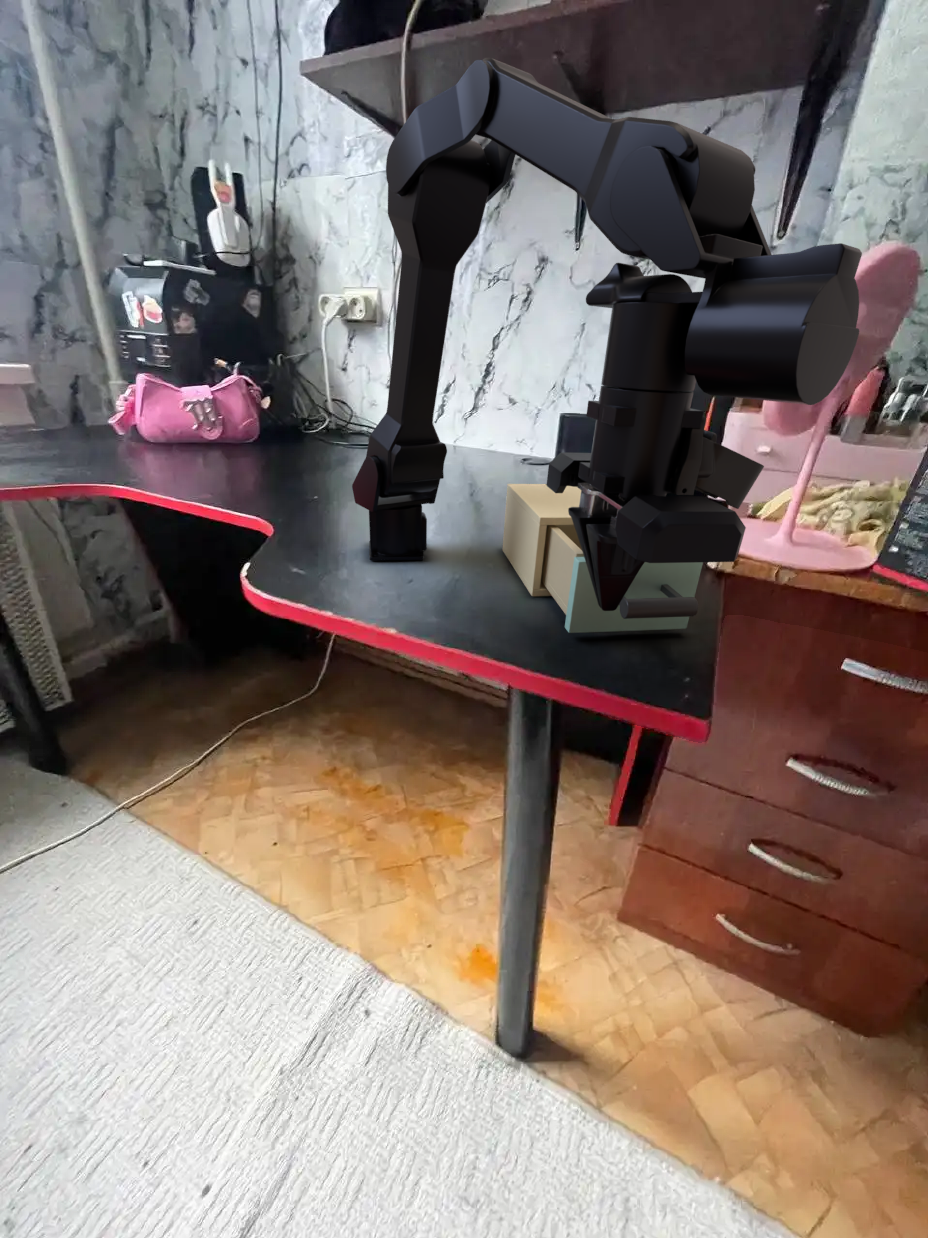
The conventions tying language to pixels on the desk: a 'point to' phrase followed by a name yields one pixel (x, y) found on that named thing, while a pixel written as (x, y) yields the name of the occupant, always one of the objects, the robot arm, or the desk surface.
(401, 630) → the desk surface
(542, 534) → the cabinet
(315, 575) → the desk surface
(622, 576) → the robot arm
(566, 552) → the drawer
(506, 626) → the desk surface
